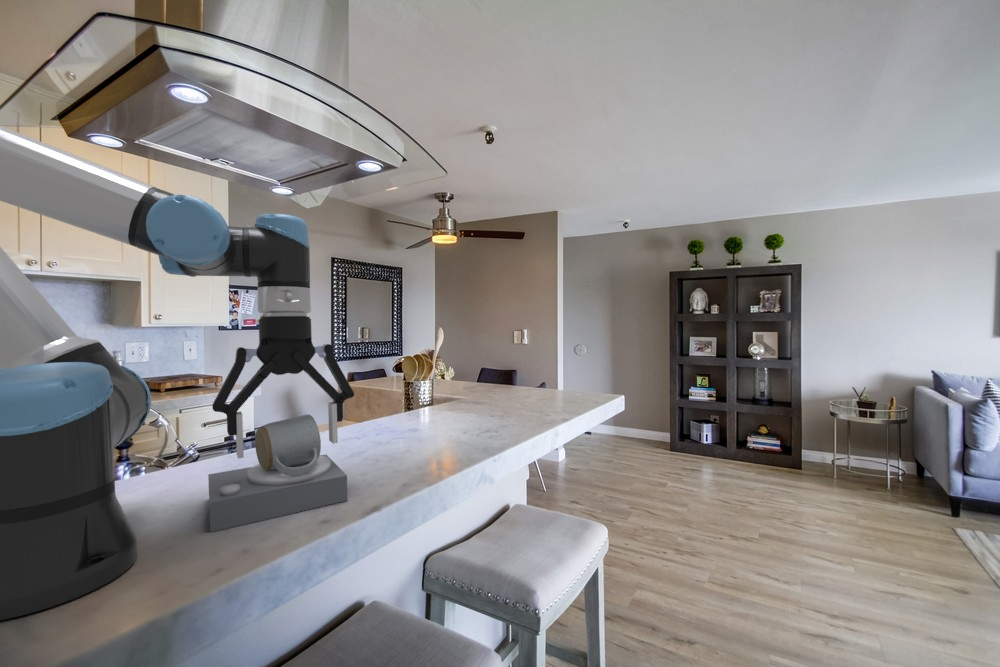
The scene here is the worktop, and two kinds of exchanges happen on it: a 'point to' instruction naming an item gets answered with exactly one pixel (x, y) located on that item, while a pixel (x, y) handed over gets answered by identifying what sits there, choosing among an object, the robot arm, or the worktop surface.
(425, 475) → the worktop surface
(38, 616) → the worktop surface
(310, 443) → the ceramic mug
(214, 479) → the grey oval-top base
